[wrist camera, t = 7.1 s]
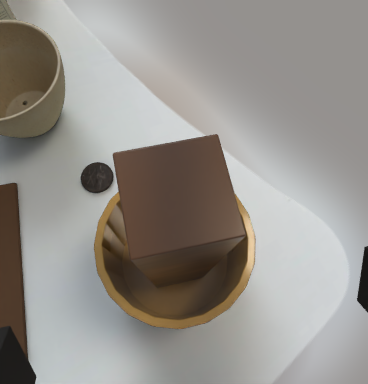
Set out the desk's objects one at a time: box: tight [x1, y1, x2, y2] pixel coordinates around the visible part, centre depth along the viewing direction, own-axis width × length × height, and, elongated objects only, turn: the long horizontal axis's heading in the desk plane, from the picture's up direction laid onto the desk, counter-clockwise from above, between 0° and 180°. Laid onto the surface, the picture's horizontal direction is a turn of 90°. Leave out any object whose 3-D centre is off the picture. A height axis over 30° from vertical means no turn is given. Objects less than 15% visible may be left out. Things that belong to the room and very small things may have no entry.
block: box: [113, 134, 246, 288], centre depth 20 cm, size 4×4×18 cm
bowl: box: [0, 20, 65, 138], centre depth 30 cm, size 10×10×7 cm
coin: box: [81, 162, 113, 193], centre depth 31 cm, size 3×1×3 cm
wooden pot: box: [94, 192, 255, 329], centre depth 25 cm, size 10×10×9 cm
